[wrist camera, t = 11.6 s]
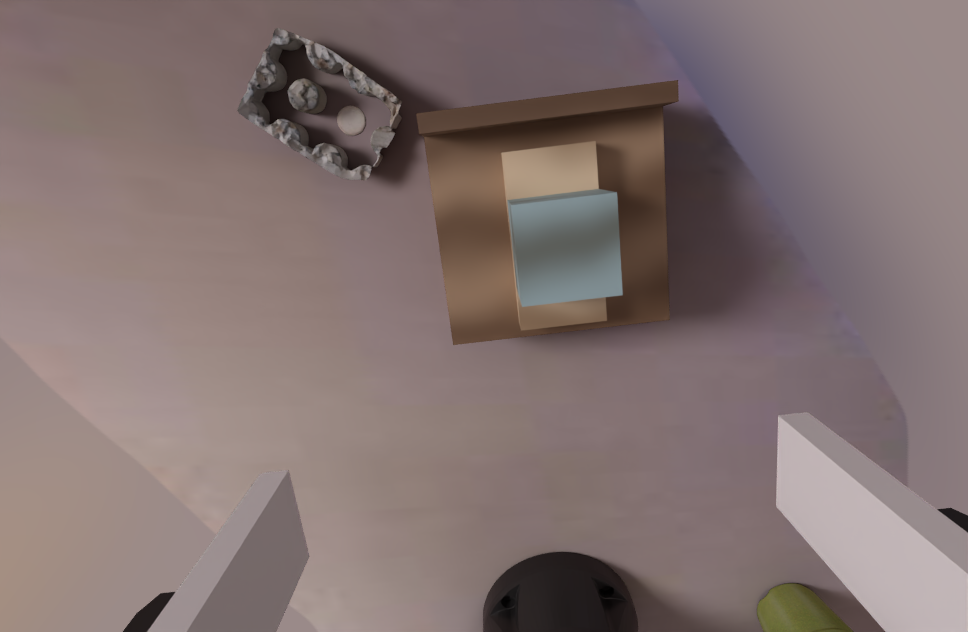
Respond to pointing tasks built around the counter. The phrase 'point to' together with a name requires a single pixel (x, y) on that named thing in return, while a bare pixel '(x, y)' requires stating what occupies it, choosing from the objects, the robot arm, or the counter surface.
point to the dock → (483, 209)
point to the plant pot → (797, 611)
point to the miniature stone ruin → (316, 104)
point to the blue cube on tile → (561, 235)
